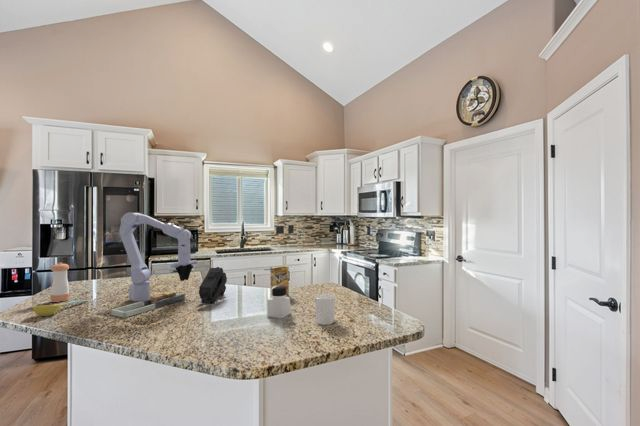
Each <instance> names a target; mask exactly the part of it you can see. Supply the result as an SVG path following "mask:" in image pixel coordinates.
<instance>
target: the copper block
mask: <svg viewBox="0 0 640 426" xmlns="http://www.w3.org/2000/svg"><path fill="white" fill-rule="evenodd" d="M162 299H164V295H162V294H155V295H151V296H150V305H152V304H153V302H155V301H158V300H162Z"/></svg>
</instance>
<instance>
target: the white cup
mask: <svg viewBox="0 0 640 426" xmlns="http://www.w3.org/2000/svg"><path fill="white" fill-rule="evenodd" d="M335 301H336V295H333V294H329V293H321V294H316V295H315V296H314V304H315V305H314V308H315V317H316V318H315V319H316V321H315V322H316V323H317V324H319V325H323V326H326V325H332V324H334V321H335V310H336V309H335V305H336V304H335V303H336V302H335Z"/></svg>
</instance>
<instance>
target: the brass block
mask: <svg viewBox="0 0 640 426" xmlns="http://www.w3.org/2000/svg"><path fill="white" fill-rule="evenodd" d="M175 293H176V292H175V291H167V292H163V293H161V295H164V299H166V298H169V297H173V296H175Z"/></svg>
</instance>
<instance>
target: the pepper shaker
mask: <svg viewBox="0 0 640 426" xmlns="http://www.w3.org/2000/svg"><path fill="white" fill-rule="evenodd" d="M69 269H70V266H69V264H67V263H63V262H58V263H57V264H54V265H52V266H51V267H50V270H51V271H52V283H51V289H50V290H51V294H50V303H51V302H58V303H61V302H60V301H64V302H67V301H66V300H68V301H70V300H71V299H70V298H71V297H70V296H71V295H70V294H71V293H70V291H69V289H70V288H69V287H70V285H69V279H68V270H69ZM69 299H70V300H69Z"/></svg>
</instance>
